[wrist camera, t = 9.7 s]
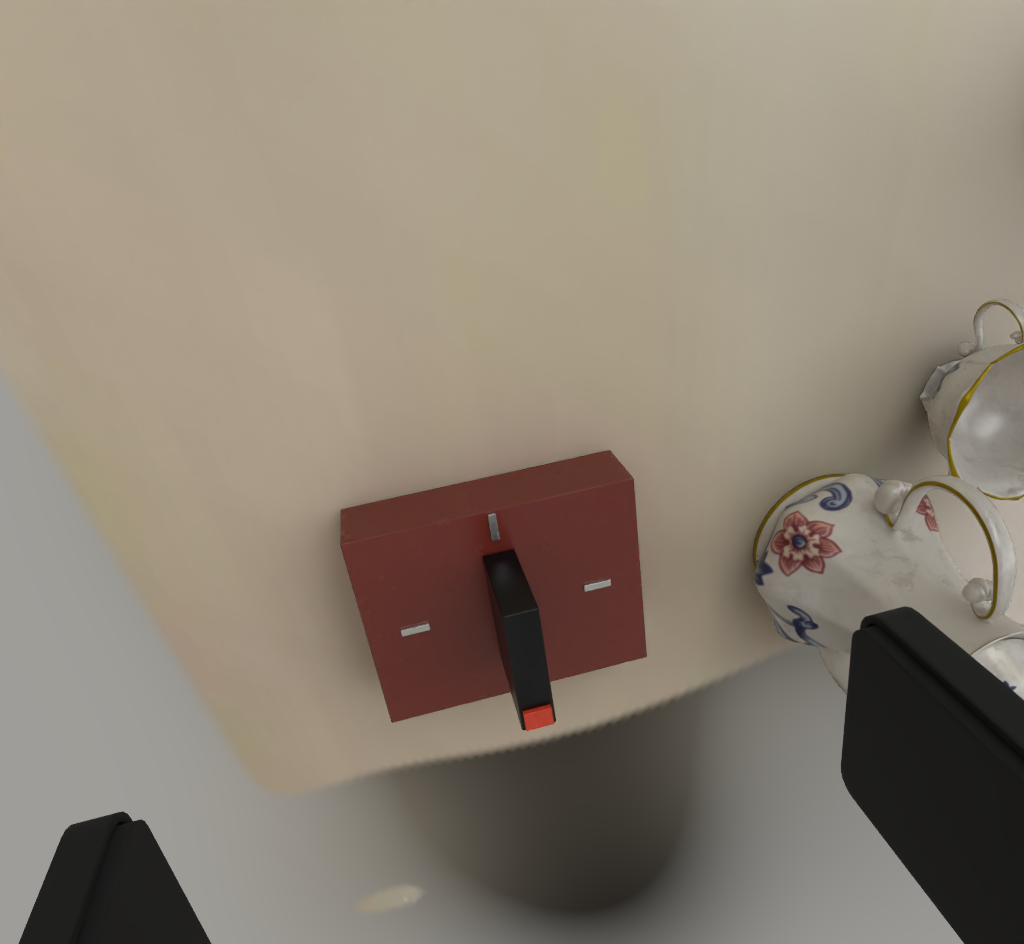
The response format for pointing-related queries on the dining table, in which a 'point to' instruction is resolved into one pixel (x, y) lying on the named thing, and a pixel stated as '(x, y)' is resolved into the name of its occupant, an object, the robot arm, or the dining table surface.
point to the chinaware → (910, 526)
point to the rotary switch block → (463, 586)
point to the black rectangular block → (520, 639)
